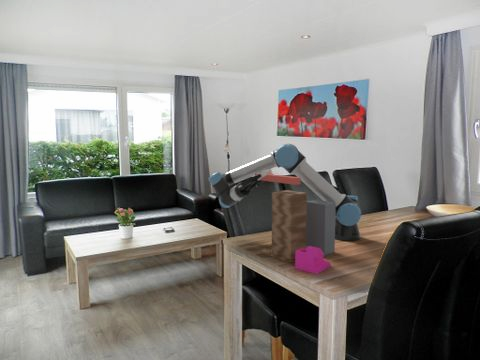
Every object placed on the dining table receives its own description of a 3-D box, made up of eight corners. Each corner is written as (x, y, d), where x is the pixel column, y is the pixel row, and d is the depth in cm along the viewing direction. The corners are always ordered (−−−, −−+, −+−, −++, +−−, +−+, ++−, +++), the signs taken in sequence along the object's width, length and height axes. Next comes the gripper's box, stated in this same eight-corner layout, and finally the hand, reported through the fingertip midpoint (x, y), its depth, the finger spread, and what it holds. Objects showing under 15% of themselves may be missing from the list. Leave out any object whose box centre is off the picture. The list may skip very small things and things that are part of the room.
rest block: (304, 249, 192) (304, 201, 189) (314, 246, 197) (315, 199, 194) (324, 255, 183) (325, 204, 180) (334, 252, 188) (335, 202, 185)
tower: (268, 255, 183) (268, 192, 180) (285, 250, 191) (286, 189, 187) (291, 262, 173) (292, 195, 169) (308, 257, 181) (309, 192, 177)
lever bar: (255, 179, 192) (255, 173, 192) (259, 179, 194) (259, 172, 194) (296, 184, 173) (296, 178, 173) (300, 184, 175) (300, 177, 175)
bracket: (316, 274, 159) (317, 249, 158) (295, 268, 166) (295, 245, 165) (330, 266, 169) (331, 243, 167) (309, 261, 175) (310, 239, 174)
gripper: (253, 196, 208) (282, 177, 191) (230, 199, 197) (259, 180, 181) (249, 183, 210) (277, 163, 193) (226, 186, 199) (253, 165, 183)
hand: (268, 171), depth 187 cm, fingers closed on lever bar, 3 cm apart
